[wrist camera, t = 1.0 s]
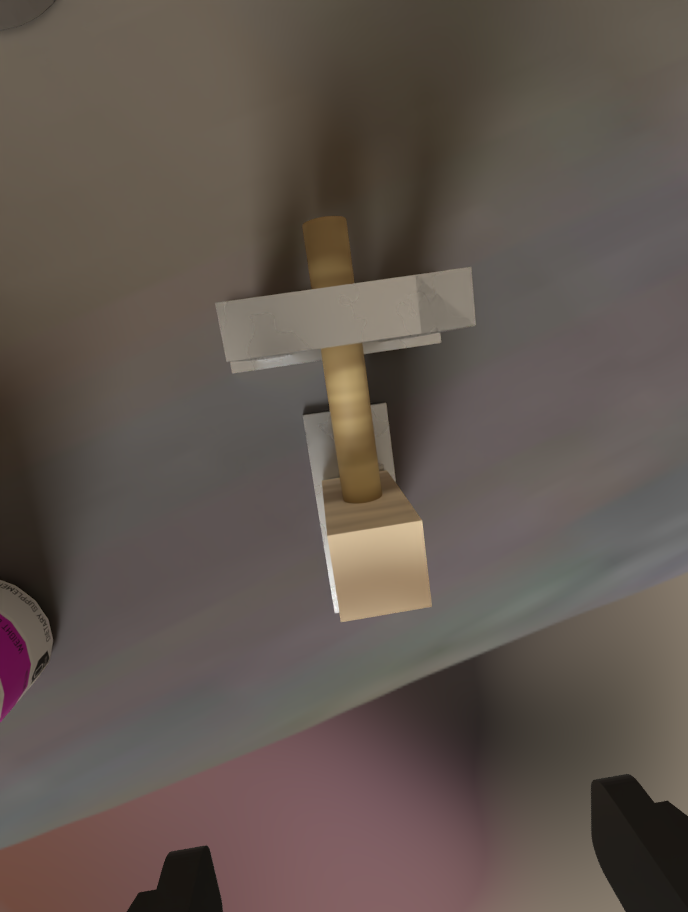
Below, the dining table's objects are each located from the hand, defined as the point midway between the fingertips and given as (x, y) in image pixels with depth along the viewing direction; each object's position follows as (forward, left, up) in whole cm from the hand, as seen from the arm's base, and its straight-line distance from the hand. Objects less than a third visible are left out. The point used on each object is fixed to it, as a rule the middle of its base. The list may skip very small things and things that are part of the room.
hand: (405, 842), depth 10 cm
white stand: (-3, +1, -20) cm, 21 cm away
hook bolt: (-7, +1, -20) cm, 21 cm away
